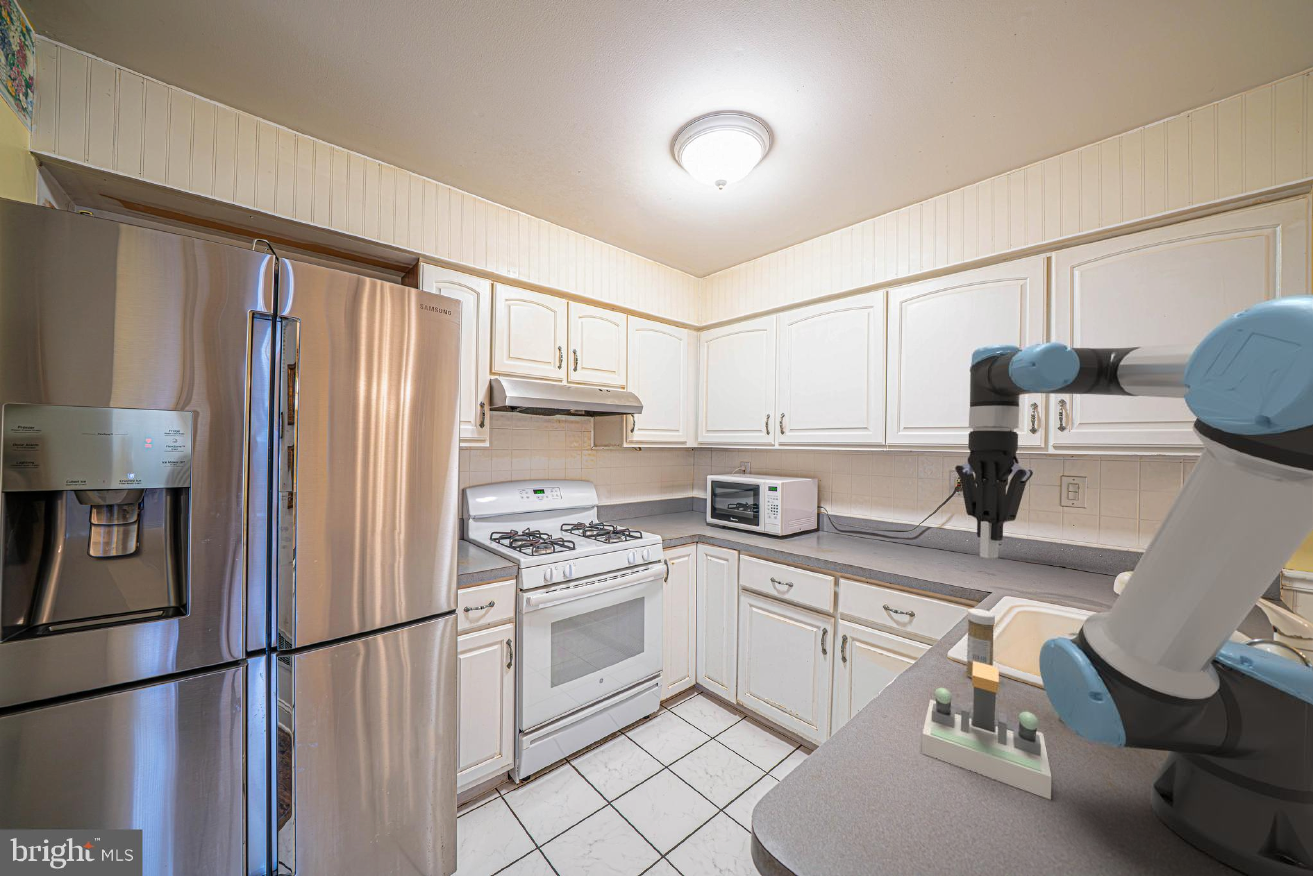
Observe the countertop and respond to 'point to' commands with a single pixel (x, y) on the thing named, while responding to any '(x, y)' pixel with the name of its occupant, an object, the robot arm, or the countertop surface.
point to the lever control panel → (988, 745)
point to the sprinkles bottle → (979, 638)
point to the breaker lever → (984, 696)
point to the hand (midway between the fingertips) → (988, 556)
